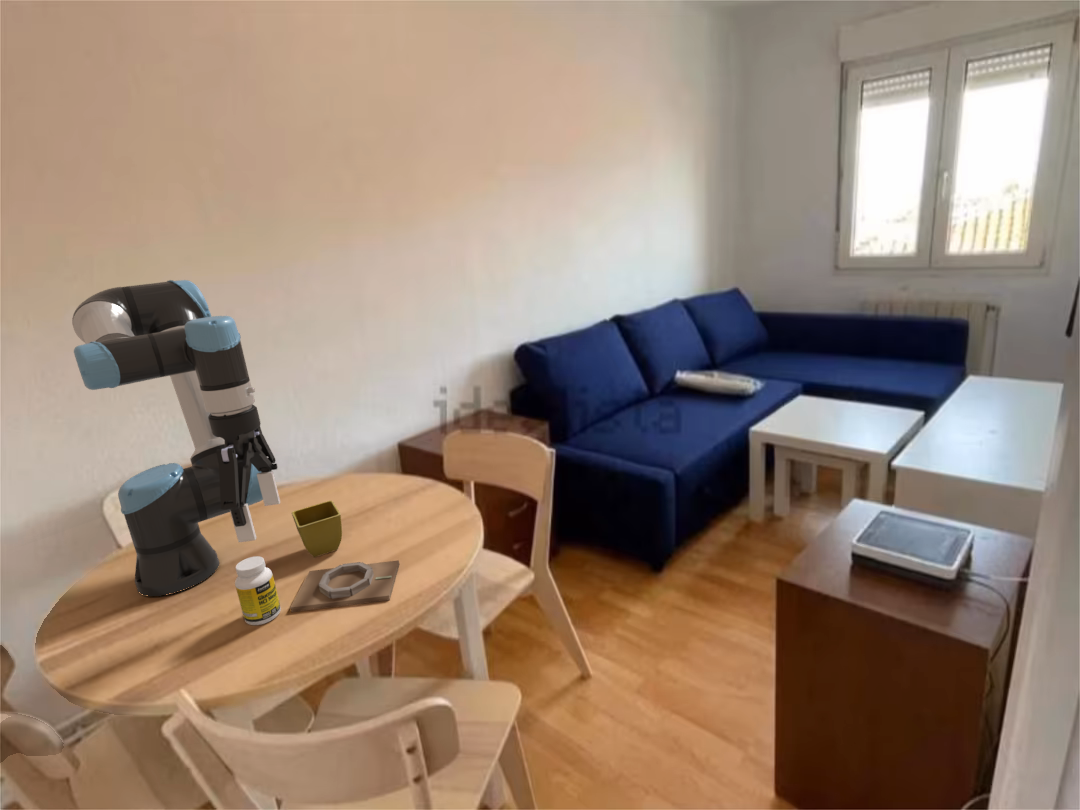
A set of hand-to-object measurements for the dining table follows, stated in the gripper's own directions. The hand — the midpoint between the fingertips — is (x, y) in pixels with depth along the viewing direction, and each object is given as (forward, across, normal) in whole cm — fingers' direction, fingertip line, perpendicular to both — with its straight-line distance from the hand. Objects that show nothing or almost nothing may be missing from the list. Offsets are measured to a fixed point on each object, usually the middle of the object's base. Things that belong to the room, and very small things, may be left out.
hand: (260, 521), depth 107 cm
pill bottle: (+18, -3, +2) cm, 18 cm away
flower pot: (+18, +19, -4) cm, 26 cm away
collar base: (+17, +2, -12) cm, 21 cm away
